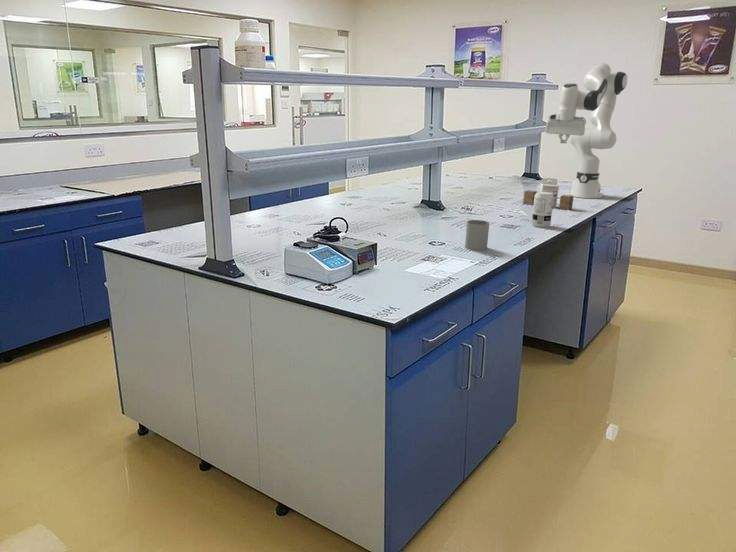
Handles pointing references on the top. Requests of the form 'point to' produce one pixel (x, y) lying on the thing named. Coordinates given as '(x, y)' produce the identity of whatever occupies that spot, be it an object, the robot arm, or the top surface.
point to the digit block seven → (529, 197)
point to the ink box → (550, 188)
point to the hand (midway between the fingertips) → (563, 143)
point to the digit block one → (566, 202)
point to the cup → (477, 235)
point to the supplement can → (542, 209)
